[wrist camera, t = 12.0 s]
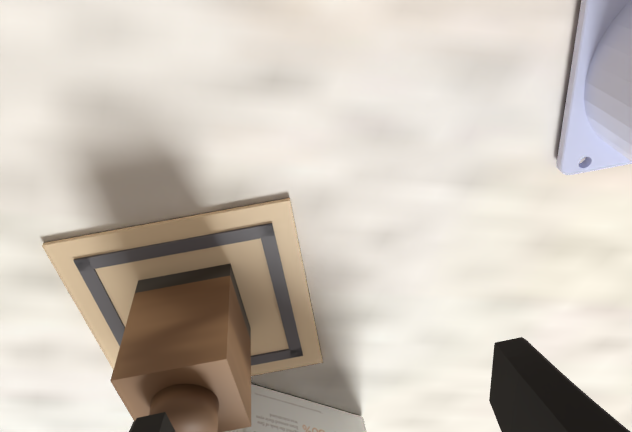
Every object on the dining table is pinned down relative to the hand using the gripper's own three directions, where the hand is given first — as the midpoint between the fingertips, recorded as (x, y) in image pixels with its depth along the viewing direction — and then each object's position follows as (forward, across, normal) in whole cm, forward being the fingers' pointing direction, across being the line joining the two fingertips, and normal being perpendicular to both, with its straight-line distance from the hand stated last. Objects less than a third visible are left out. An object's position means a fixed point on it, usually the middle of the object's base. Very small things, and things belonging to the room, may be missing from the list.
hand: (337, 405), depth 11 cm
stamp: (+10, +5, +6) cm, 13 cm away
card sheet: (+11, +5, +6) cm, 13 cm away
